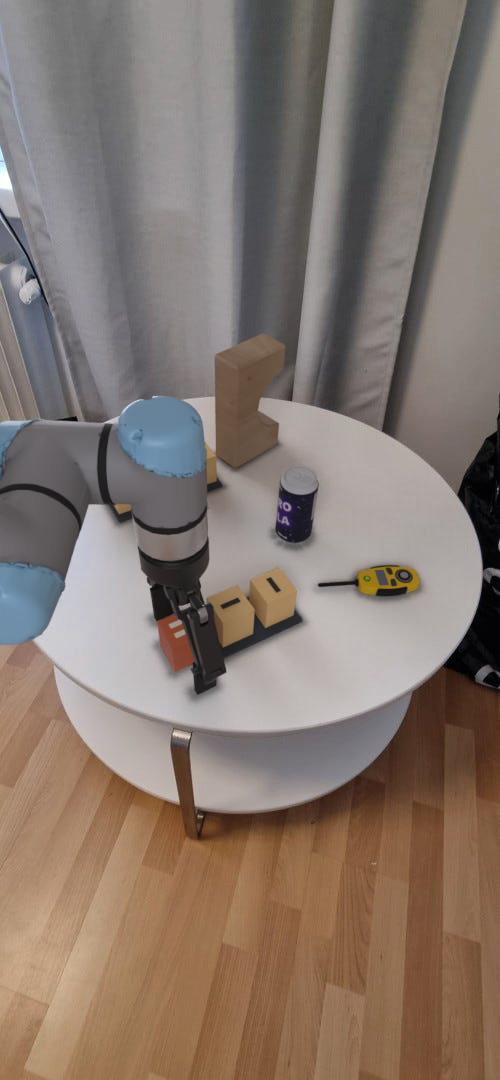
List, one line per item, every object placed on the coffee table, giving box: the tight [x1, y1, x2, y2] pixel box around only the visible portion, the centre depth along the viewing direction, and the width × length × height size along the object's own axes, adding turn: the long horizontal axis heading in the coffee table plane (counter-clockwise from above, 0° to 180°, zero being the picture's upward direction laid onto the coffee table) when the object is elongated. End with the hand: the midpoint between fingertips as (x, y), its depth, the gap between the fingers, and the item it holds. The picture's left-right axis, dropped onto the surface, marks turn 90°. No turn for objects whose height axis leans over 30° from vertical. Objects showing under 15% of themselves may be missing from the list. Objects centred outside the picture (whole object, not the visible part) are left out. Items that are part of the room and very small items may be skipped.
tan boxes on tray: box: [206, 567, 303, 660], centre depth 79 cm, size 12×7×6 cm, turn 120°
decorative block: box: [214, 332, 286, 469], centre depth 100 cm, size 11×6×20 cm, turn 133°
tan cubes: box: [108, 441, 224, 523], centre depth 96 cm, size 19×7×6 cm, turn 120°
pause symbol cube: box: [156, 614, 195, 673], centre depth 75 cm, size 5×5×6 cm
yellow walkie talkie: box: [317, 564, 421, 597], centre depth 85 cm, size 5×2×15 cm
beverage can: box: [275, 464, 320, 544], centre depth 88 cm, size 6×6×12 cm
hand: (184, 650), depth 77 cm, fingers open, 12 cm apart
